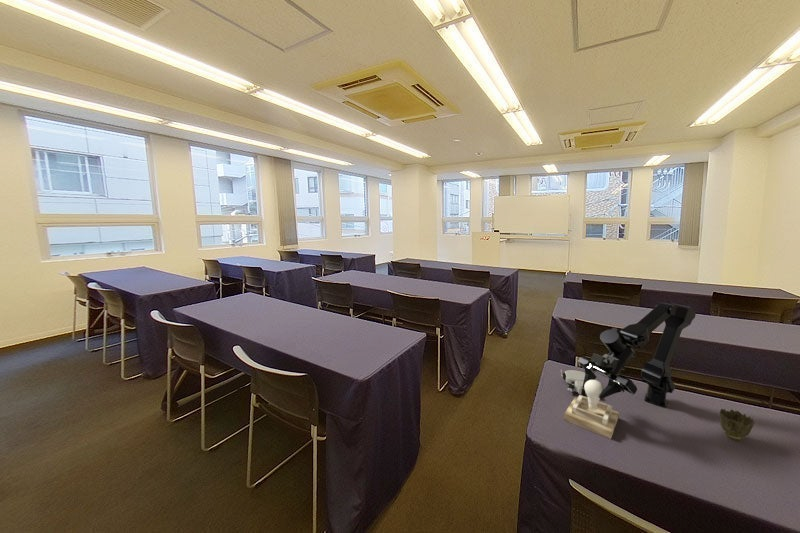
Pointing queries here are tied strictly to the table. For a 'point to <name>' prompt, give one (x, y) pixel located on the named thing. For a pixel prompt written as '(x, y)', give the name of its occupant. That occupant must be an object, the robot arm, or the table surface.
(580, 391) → the robot toy
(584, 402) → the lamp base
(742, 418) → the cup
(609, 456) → the table surface
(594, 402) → the lightbulb
